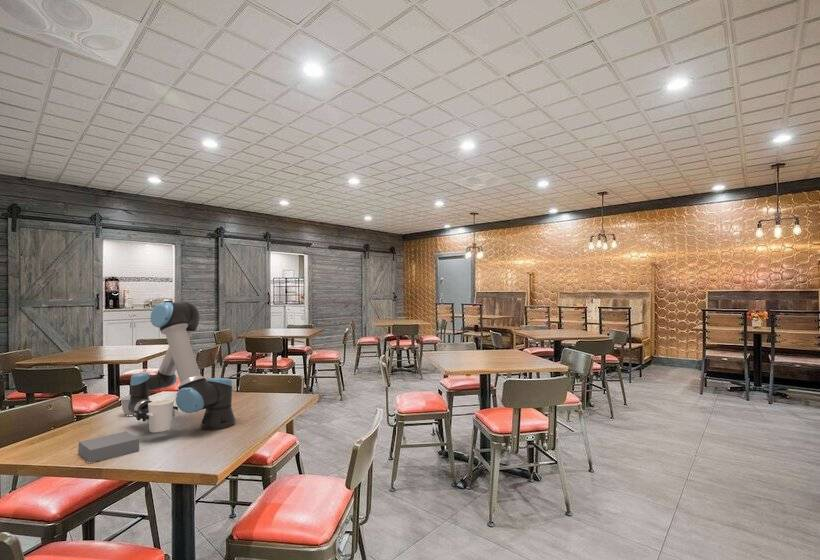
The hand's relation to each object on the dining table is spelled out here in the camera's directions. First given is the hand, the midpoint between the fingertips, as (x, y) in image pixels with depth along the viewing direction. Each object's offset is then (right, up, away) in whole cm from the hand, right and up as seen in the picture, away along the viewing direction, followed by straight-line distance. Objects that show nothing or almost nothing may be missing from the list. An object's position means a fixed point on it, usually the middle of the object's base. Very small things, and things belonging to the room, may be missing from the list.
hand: (165, 415), depth 172 cm
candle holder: (-3, -7, +2) cm, 8 cm away
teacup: (-43, -15, +43) cm, 63 cm away
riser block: (-15, -10, -13) cm, 22 cm away
